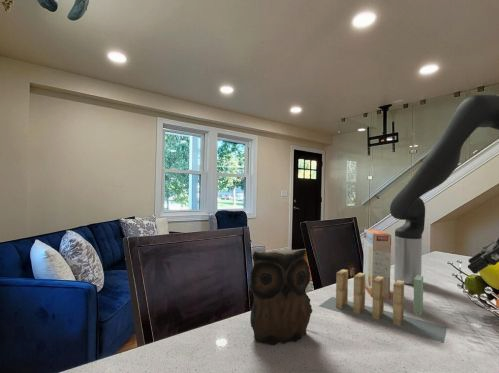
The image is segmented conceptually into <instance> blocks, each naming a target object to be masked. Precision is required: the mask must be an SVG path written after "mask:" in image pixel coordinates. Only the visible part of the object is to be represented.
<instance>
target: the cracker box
mask: <svg viewBox="0 0 499 373" xmlns="http://www.w3.org/2000/svg"><path fill="white" fill-rule="evenodd" d="M363 231H364V232H363V268H362V269H363V270H362V273H365V291H367V292H368V294H369V296H370V297H371V298H373V280H374V279H375V278H376V277H377V276H380V277H384V300H385V299H386V300H390V298H391V266H392V264H391V262H392V261H391V260H392V259H391V258H392V256H391V254H392V234H390V233H388V232H385V231H383V230H381V229H374V228H373V229H371V228H370V229H369V228H368V229H367V228H365V229H364V230H363Z"/></svg>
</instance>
